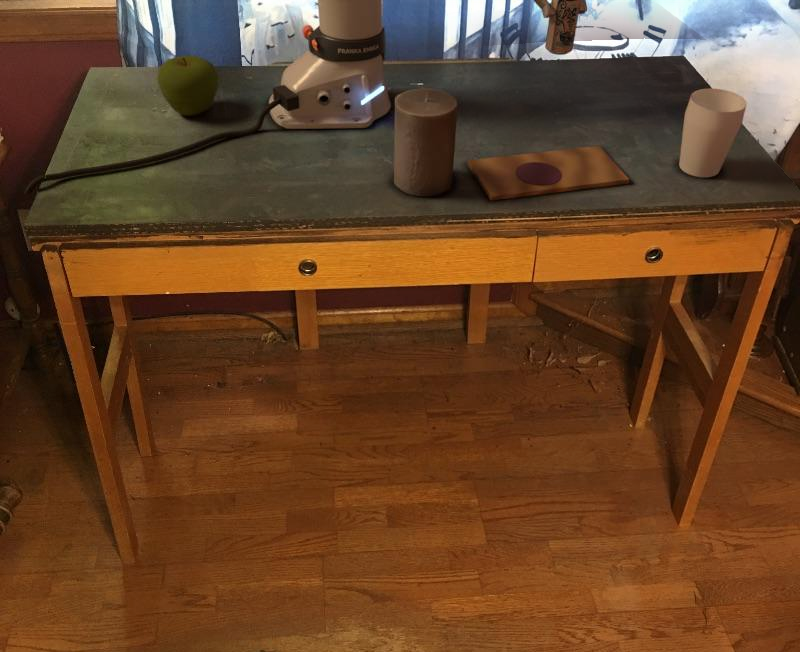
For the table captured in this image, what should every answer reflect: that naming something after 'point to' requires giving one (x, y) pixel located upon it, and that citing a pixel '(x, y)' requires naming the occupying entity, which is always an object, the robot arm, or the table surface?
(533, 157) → the wooden board
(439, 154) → the pillar candle
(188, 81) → the apple
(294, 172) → the table surface
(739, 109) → the cup
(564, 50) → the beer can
